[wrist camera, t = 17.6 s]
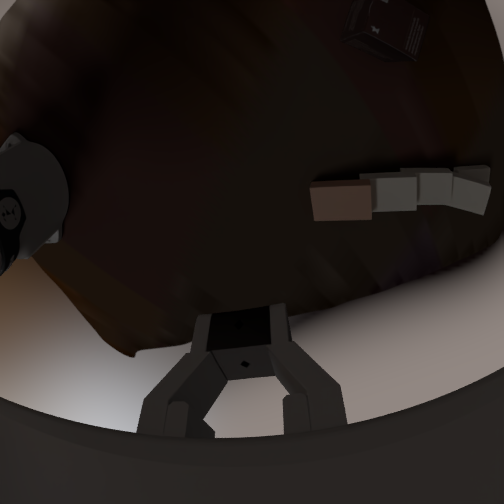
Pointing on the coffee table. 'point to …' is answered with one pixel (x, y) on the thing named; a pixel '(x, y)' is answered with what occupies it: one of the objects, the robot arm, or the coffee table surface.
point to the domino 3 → (432, 185)
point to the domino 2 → (392, 191)
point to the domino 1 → (341, 200)
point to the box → (386, 29)
